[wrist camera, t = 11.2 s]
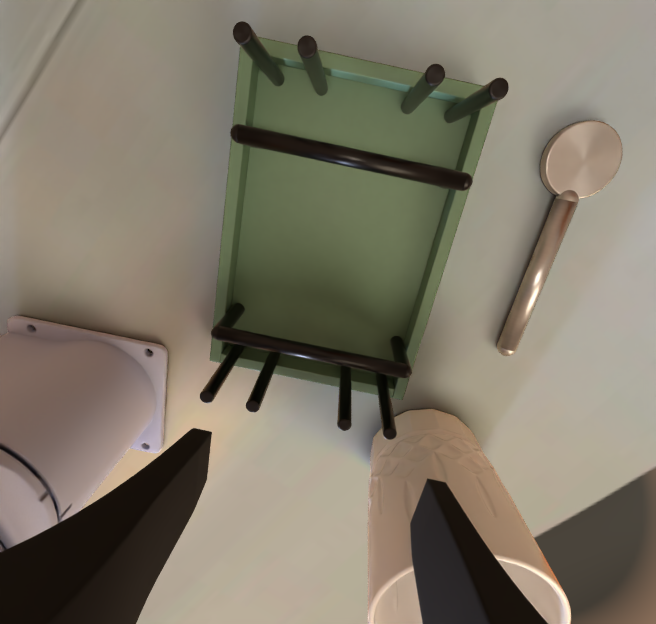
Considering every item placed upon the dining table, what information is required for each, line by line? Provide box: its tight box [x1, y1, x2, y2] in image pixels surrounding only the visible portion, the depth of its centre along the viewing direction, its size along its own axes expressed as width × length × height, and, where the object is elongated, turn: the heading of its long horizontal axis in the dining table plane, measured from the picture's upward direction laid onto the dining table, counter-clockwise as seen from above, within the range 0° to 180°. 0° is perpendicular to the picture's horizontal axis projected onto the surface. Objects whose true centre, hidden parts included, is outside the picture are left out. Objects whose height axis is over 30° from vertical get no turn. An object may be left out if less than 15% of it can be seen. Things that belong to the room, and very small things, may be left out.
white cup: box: [368, 409, 571, 624], centre depth 20 cm, size 8×8×10 cm
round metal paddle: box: [497, 120, 622, 356], centre depth 19 cm, size 12×3×1 cm, turn 169°
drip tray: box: [210, 37, 497, 400], centre depth 19 cm, size 16×11×2 cm
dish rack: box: [200, 21, 508, 440], centre depth 17 cm, size 14×10×6 cm
